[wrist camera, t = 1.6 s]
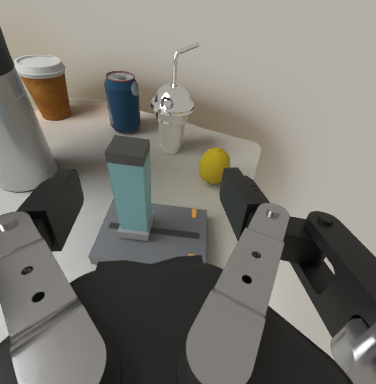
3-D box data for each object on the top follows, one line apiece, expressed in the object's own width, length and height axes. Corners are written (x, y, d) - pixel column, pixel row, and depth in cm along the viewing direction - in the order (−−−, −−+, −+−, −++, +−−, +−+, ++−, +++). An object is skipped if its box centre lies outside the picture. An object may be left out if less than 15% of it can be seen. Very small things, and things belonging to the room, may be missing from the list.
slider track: (91, 263, 28) (88, 255, 27) (115, 206, 35) (113, 197, 34) (203, 276, 29) (206, 269, 27) (204, 217, 36) (206, 209, 34)
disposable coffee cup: (85, 114, 55) (72, 62, 47) (51, 128, 49) (29, 71, 41) (62, 102, 58) (45, 51, 50) (26, 114, 52) (1, 58, 44)
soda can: (146, 127, 54) (144, 76, 46) (127, 138, 50) (121, 84, 41) (125, 118, 56) (119, 67, 48) (105, 128, 52) (95, 74, 43)
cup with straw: (148, 139, 50) (145, 36, 36) (184, 136, 53) (195, 39, 39) (155, 161, 45) (155, 50, 31) (196, 156, 48) (213, 52, 33)
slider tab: (118, 237, 29) (100, 155, 19) (126, 214, 32) (114, 132, 22) (148, 241, 29) (144, 160, 19) (153, 217, 32) (152, 137, 22)
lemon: (205, 169, 45) (213, 135, 39) (229, 181, 43) (240, 148, 37) (191, 183, 41) (196, 148, 36) (215, 196, 40) (225, 162, 34)
